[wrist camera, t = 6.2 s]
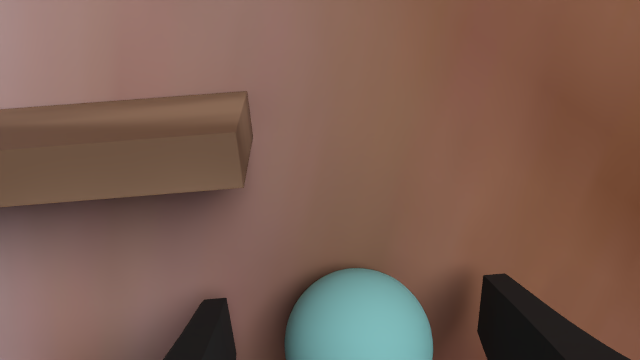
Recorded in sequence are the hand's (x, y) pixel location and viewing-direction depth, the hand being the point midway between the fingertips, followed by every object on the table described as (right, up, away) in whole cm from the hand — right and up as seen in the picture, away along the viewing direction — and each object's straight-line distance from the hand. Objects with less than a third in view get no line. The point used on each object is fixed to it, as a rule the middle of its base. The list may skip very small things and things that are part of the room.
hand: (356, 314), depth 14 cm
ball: (+1, 0, +1) cm, 2 cm away
